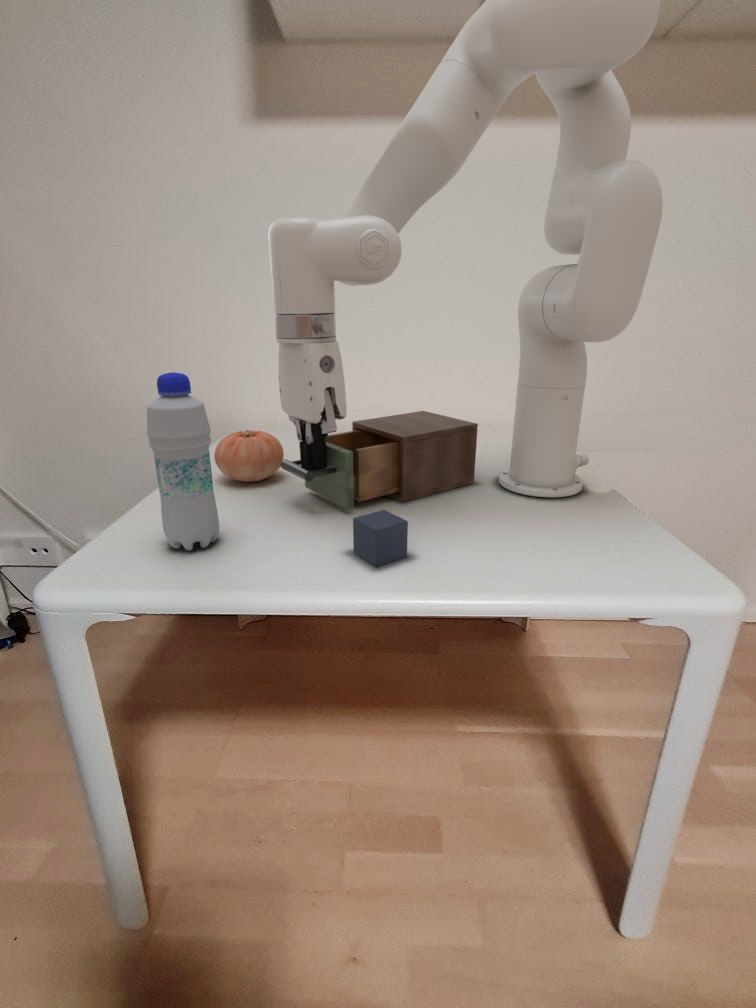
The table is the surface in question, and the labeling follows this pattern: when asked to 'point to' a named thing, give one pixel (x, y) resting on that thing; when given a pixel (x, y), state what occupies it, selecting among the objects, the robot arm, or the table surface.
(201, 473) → the bottle
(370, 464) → the drawer
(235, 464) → the orange pumpkin
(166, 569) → the table surface
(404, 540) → the block
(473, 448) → the cabinet
